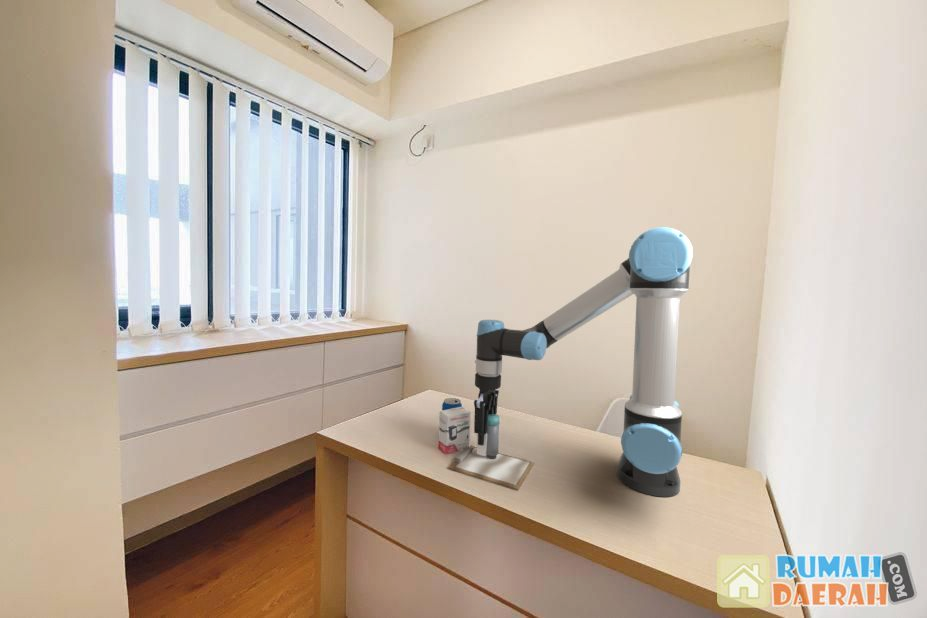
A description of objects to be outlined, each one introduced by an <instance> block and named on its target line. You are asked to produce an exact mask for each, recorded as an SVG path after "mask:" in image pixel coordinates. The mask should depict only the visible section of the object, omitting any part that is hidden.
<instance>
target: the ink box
mask: <svg viewBox="0 0 927 618" xmlns="http://www.w3.org/2000/svg"><path fill="white" fill-rule="evenodd" d="M438 421H439V424H438V449H439V450H440V451H441V452H442V453H443V454H445V455H448V454H452V453H453V454H454V453H456V452H458V451H460V452H461V451H462V450H463V449H464V448H465V447H466V446H468V447H470V434H471V433H470V432H471V429H470V427H471V411H469V410H468V409H466V408H465V407H464V406H462V407H457V408H452V409H447V410H442V409H441V411H439V420H438Z"/></svg>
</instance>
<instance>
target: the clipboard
mask: <svg viewBox="0 0 927 618" xmlns="http://www.w3.org/2000/svg"><path fill="white" fill-rule="evenodd" d="M534 465H535V463H534V461H530V460H526V459H523V458H520V457H516V456H512V455H509V454H505V453H501V452H498V455H496V458H495V459H489V458H487V454H486V456H482V455H479V454H477V446H476V445H475V446H474V445H471V444H470V445H469V447H468V446H466V447H465V448H464V449H463V450H460V452H459V453H457V454H456V455H455V456H454V459H453V462H452V463H450V464H449V465H448V466H447V470H451V471H453V472H456V473H460V474H463V475H465V476H469V477H472V478H476V479H479V480H482V481H484V482H489V483H493V484H496V485H498V486H502V487H504V488H509V489H511V490H514V491H517V492H518V491H519V490H520V488H521V486H522V484H523V483H524V481H525V480H526V478H527V476H528V474H529V473H530V471H531V470H532V467H533V466H534Z"/></svg>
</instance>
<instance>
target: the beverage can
mask: <svg viewBox="0 0 927 618" xmlns="http://www.w3.org/2000/svg"><path fill="white" fill-rule="evenodd" d="M457 407H463V405H462V402H461V399H459V398H456V397H449V398H444V400H443V402H442V404H441V411H442V410H447V409H452V408H457Z"/></svg>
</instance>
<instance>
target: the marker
mask: <svg viewBox="0 0 927 618" xmlns="http://www.w3.org/2000/svg"><path fill="white" fill-rule="evenodd" d="M486 433H487V451H486V454H487V458H489V459H495V458H496V455H498V453H499V445H500V444H499V441H500V440H499V435H500V434H499V433H500V415H498V414H488V420H487V428H486Z"/></svg>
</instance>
